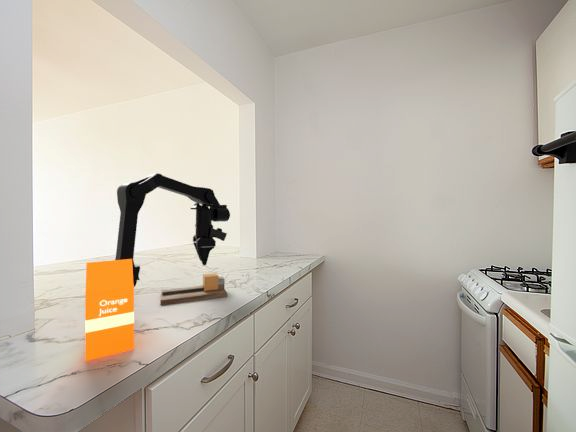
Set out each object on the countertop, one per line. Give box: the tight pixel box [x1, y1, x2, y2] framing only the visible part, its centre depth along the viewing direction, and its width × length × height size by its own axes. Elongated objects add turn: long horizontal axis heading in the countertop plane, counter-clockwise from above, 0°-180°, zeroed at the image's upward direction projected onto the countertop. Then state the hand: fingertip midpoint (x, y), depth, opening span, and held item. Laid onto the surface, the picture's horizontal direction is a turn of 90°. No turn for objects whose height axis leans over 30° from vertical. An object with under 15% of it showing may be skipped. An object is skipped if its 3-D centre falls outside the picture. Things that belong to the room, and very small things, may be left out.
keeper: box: [202, 272, 219, 291], centre depth 99 cm, size 4×5×5 cm
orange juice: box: [84, 259, 135, 362], centre depth 60 cm, size 8×9×20 cm
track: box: [160, 276, 228, 306], centre depth 97 cm, size 12×22×6 cm, turn 115°
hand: (203, 262), depth 99 cm, fingers open, 9 cm apart
